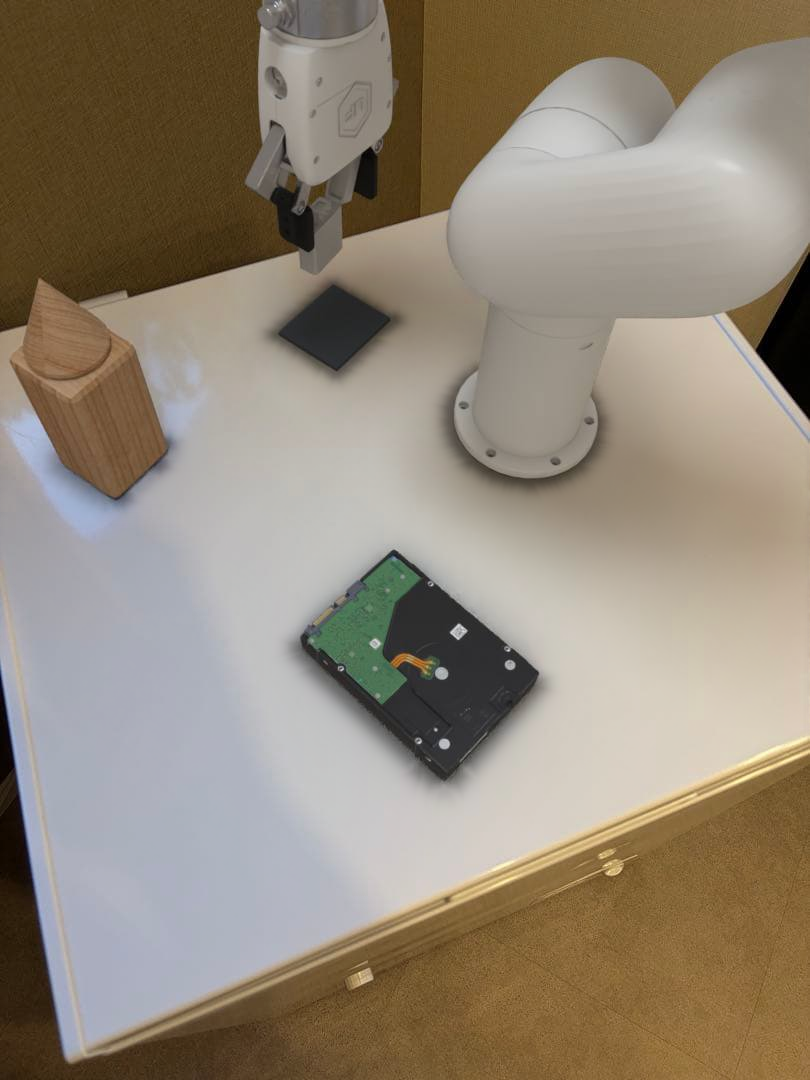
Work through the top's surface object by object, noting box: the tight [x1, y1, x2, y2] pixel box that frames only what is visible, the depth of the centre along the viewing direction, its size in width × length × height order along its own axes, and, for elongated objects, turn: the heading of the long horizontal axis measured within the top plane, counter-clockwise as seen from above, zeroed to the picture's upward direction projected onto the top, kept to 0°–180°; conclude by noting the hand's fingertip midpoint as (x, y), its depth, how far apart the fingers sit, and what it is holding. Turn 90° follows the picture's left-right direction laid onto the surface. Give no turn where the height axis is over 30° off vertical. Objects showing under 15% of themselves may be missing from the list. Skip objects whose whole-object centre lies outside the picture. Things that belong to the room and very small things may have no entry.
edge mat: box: [277, 283, 391, 372], centre depth 83 cm, size 8×7×1 cm
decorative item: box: [9, 277, 168, 498], centre depth 66 cm, size 7×7×20 cm
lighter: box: [298, 153, 362, 276], centre depth 72 cm, size 7×2×8 cm, turn 149°
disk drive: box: [299, 549, 540, 781], centre depth 65 cm, size 10×3×15 cm
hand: (329, 215), depth 72 cm, fingers closed on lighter, 7 cm apart
